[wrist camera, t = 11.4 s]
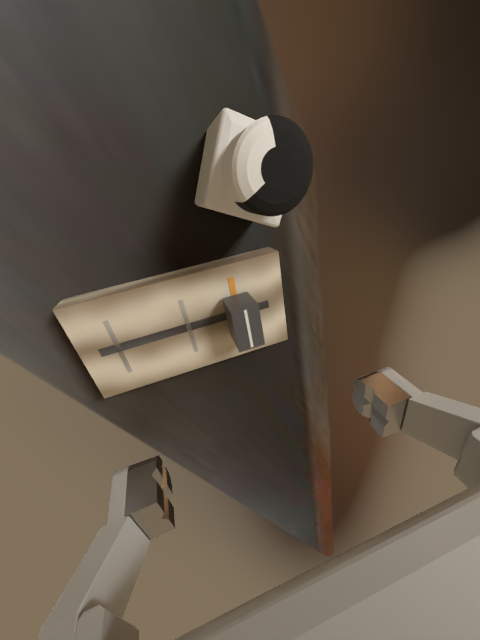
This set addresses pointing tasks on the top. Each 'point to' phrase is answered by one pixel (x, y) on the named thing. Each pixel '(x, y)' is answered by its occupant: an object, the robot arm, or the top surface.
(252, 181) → the medicine bottle
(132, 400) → the top surface
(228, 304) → the fader knob
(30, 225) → the top surface
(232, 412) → the top surface
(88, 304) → the control strip
